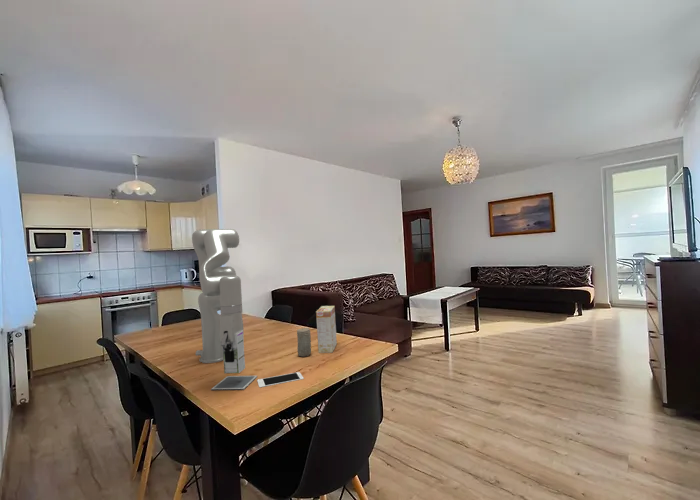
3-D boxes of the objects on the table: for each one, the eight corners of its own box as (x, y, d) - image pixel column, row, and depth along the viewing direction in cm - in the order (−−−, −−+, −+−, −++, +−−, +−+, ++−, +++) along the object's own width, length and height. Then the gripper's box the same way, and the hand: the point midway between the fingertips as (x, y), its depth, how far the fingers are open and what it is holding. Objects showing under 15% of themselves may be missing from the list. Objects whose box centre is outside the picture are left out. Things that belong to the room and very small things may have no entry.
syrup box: (245, 368, 122) (243, 329, 123) (238, 373, 116) (236, 333, 117) (231, 368, 123) (229, 329, 123) (223, 374, 117) (221, 333, 117)
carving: (298, 358, 145) (296, 331, 145) (297, 353, 153) (296, 327, 153) (312, 356, 146) (310, 330, 147) (311, 352, 154) (309, 326, 154)
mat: (211, 390, 114) (210, 388, 114) (227, 377, 126) (227, 376, 126) (243, 390, 113) (243, 388, 113) (257, 376, 125) (257, 375, 125)
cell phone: (257, 381, 122) (257, 379, 122) (299, 373, 128) (299, 371, 128) (259, 388, 114) (259, 387, 114) (304, 380, 120) (304, 378, 120)
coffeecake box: (323, 344, 166) (321, 306, 167) (337, 343, 166) (335, 305, 166) (317, 353, 151) (315, 311, 152) (332, 352, 151) (330, 310, 151)
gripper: (232, 306, 129) (235, 352, 129) (209, 314, 112) (211, 367, 112) (250, 305, 128) (253, 351, 128) (230, 313, 111) (232, 366, 111)
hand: (234, 358), depth 120 cm, fingers closed on syrup box, 5 cm apart
